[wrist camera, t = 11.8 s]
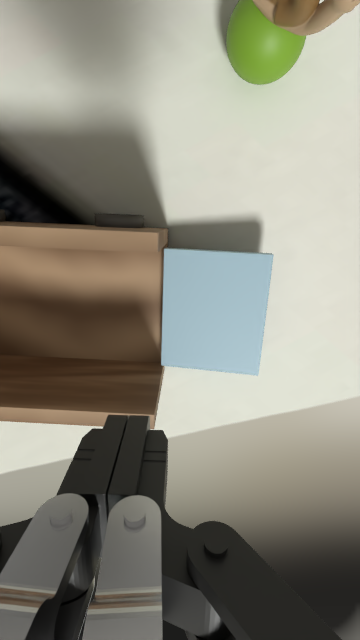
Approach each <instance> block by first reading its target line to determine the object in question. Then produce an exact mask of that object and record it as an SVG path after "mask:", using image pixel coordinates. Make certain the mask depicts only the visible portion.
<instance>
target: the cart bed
mask: <svg viewBox="0 0 360 640" xmlns="http://www.w3.org/2000/svg"><path fill="white" fill-rule="evenodd" d="M143 225H144V216H141V215H120V214H95V225H78V224H55V223H32V222H9V221H6V218H5V210H1V209H0V421H10V422H29V423H48V424H67V425H86V426H104V424H105V422H106V419H107V416H108V415H129V416H130V415H144V416H150V429H154V426H155V420H156V415H157V409H158V403H159V397H160V391H161V385H162V379H163V374H164V366H162V365H161V352H162V313H163V275H164V249H165V248H168V228H147V227H143Z"/></svg>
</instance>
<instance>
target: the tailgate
mask: <svg viewBox="0 0 360 640" xmlns="http://www.w3.org/2000/svg"><path fill="white" fill-rule="evenodd" d="M272 263H273V254H272V253H254V252H235V251H217V250H199V249H181V248H165V249H164V275H163V313H162V352H161V365H162V366H172V367H181V368H191V369H200V370H210V371H220V372H229V373H239V374H248V375H258V374H259V366H260V358H261V350H262V342H263V334H264V326H265V318H266V310H267V303H268V295H269V287H270V279H271V271H272Z"/></svg>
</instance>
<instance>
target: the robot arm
mask: <svg viewBox="0 0 360 640" xmlns="http://www.w3.org/2000/svg"><path fill="white" fill-rule="evenodd" d="M167 459H168V440H167V438H166V436H165V434H164V432H163V430H150V416H144V415H130V416H129V415H108V416H107V419H106V422H105V424H104V427H103V429H92V430H90V431H89V432H88V433H87V434H86V435H85V436H84V437H83V438H82V440H81V442H80V444H79V447H78V449H77V451H76V453H75V455H74V458H73V461H72V462H71V464H70V466H69V469H68V471H67V473H66V475H65V477H64V480H63V482H62V484H61V486H60V489H59V491H58V493H57V495H56V496H55V497H53V498H51V499H49V500H48V501H46V502H45V503H44V504H43V505H42V506H41V507H40V508H39V509H38V510H37V512H36V514H35V515H34V517H33V518H30V519H28V520H25V521H21V522H18V523H14V524H10V525H6V526H2V527H0V640H78V638H79V635H80V631H81V628H82V625H83V621H84V619H85V615H86V612H87V609H88V612H87V617H86V622H85V628H84V633H83V639H82V640H162V619H163V620H165V621H167V622H169V623H171V624H173V625H176V626H178V627H180V628H182V629H184V630H185V632H186V635H187V637H188V639H189V640H342V639H340V637H339V636H338V635H337V634H336V633H335V632H334V631H333V630H332V629H331V628H330V627H329V626H328V625H327V624H326V623H325V622H324V621H323V620H322V619H321V618H320V617H319V616H318V615H317V614H316V613H315V612H314V611H313V610H312V609H311V608H310V607H309V606H308V605H307V604H306V603H305V602H304V601H303V600H302V599H301V598H300V597H299V595H297V593H296V592H295V591H294V590H293V589H292V588H291V587H290V586H289V585H288V584H287V583H286V582H285V581H284V580H283V579H282V578H281V577H280V576H279V575H278V574H277V573H276V572H275V571H274V570H273V569H272V568H271V567H270V566H269V565H268V564H267V563H266V562H265V561H264V560H263V559H262V558H261V557H260V556H259V555H258V554H257V553H256V552H255V551H254V550H253V548H252V547H251V546H250V545H249V544H247V542H245V540H244V539H243V538H242V537H241V536H240V535H239V534H238V533H237V532H236V531H235V530H234V529H232V528H231V527H230V526H228V525H226V524H224V523H221V522H216V521H209V522H204V523H202V524H199V525H198V526H196V527H195V528H194V529H191V528H189V527H186V526H183V525H181V524H179V523H177V522H176V521H174V520H173V519H172V518H171V517H170V516H169V515H168V513H167V512H166V510H165V502H166V486H167V462H168V460H167ZM99 557H102V559H101V565H100V571H99V577H98V583H97V589H96V594H95V598H94V600H92V601H91V602H90V599H91V596H92V593H93V589H94V584H95V580H94V576H95V572H96V568H97V564H98V560H99ZM89 602H90V605H89ZM88 605H89V608H88Z"/></svg>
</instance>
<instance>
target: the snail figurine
mask: <svg viewBox="0 0 360 640" xmlns="http://www.w3.org/2000/svg"><path fill="white" fill-rule="evenodd" d="M319 1H320V0H239V2H238V3H237V5H236V7H235V8H234V10H233V13H232V15H231V18H230V21H229V24H228V29H227V37H226V45H227V53H228V57H229V60H230V63H231V65H232V67H233V69H234V70H235V72H236V73H237V74H238V75H239V76H240V77H241V78H242V79H244V80H245V81H247V82H249V83H252V84H268V83H271V82H274V81H276V80H278V79H279V78H281V77H282V76H283V75H285V74H286V73H287V72H288V71H289V70H290V69H291V68H292V66H293V65H294V64H295V62H296V61H297V59H298V57H299V55H300V53H301V51H302V49H303V46H304V43H305V39H306V35H311V34H314V33H317V32H319V31H321V30H323V29H325V28H326V27H328V26H329V25H331V24H332V23H333V22H335V21H336V20H337V19H339V18H340V17H341V16H342V15H343V14H344V13H348V12H350V11H352V10H353V9H354V7H355V6H357V5H358V4H359V3H360V0H324V1H323V2H322V3H320V4H319Z"/></svg>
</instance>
